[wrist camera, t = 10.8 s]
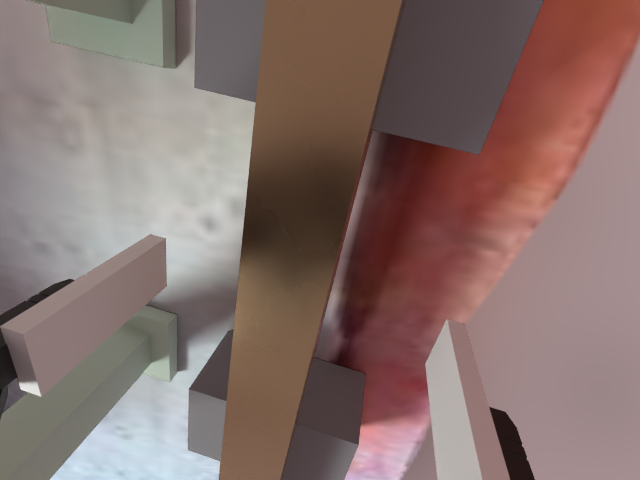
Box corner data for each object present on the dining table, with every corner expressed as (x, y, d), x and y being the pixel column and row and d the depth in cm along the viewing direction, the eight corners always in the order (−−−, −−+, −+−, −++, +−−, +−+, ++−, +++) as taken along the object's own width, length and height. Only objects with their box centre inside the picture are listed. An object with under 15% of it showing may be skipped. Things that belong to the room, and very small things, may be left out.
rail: (279, 490, 21) (262, 547, 19) (236, 475, 22) (213, 529, 19) (450, -171, 8) (478, -302, 5) (329, -189, 8) (297, -320, 6)
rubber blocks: (345, 427, 25) (334, 501, 21) (222, 387, 26) (187, 449, 22) (514, -28, 12) (580, -90, 8) (263, -74, 13) (198, -152, 9)
